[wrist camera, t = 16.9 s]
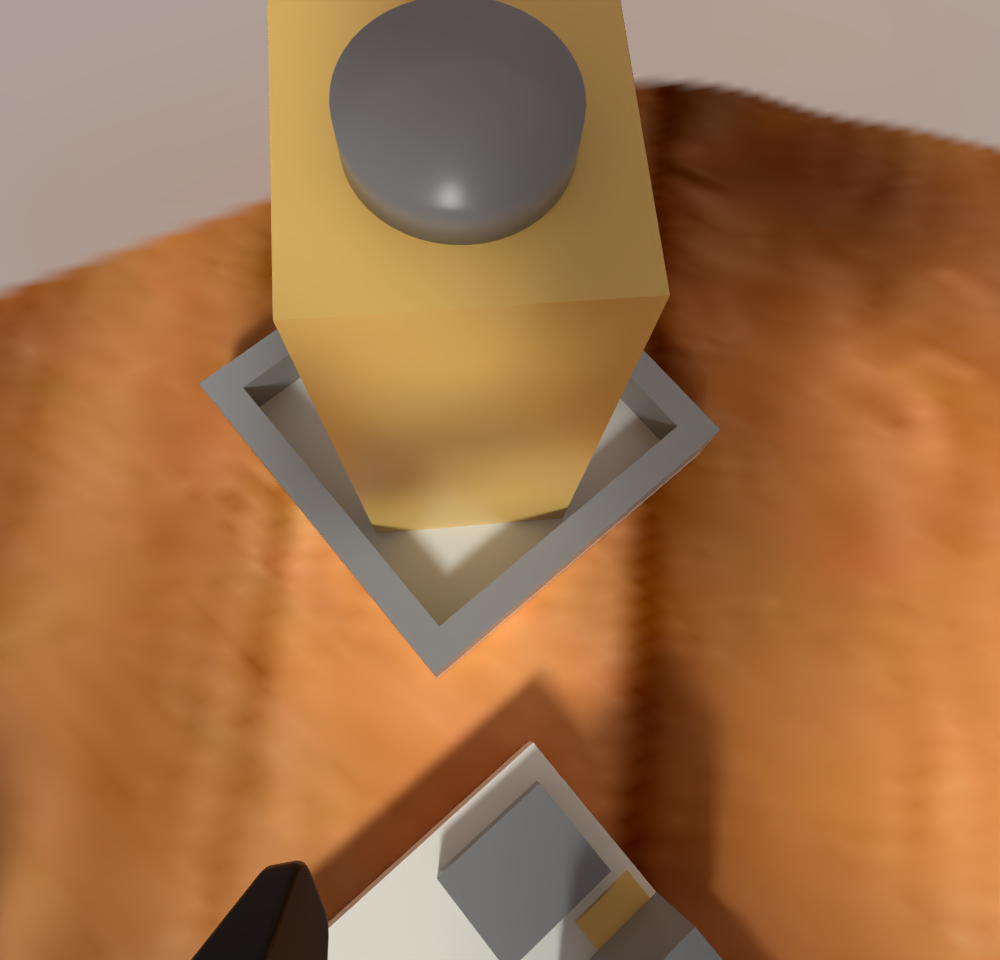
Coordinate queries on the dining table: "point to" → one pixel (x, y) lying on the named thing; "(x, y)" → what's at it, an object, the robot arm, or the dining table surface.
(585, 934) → the light grey flat piece
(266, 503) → the dining table surface
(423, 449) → the tan tall block
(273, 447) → the tray
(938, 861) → the dining table surface
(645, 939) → the breaker toggle
